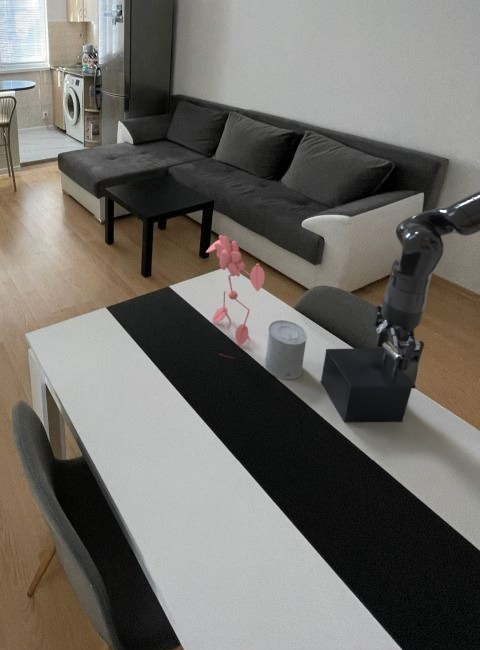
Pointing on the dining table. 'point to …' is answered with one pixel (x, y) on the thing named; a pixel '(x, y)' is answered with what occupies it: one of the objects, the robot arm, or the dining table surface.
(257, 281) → the figurine
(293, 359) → the grey tin can
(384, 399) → the bin
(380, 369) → the bin lid
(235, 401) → the dining table surface
